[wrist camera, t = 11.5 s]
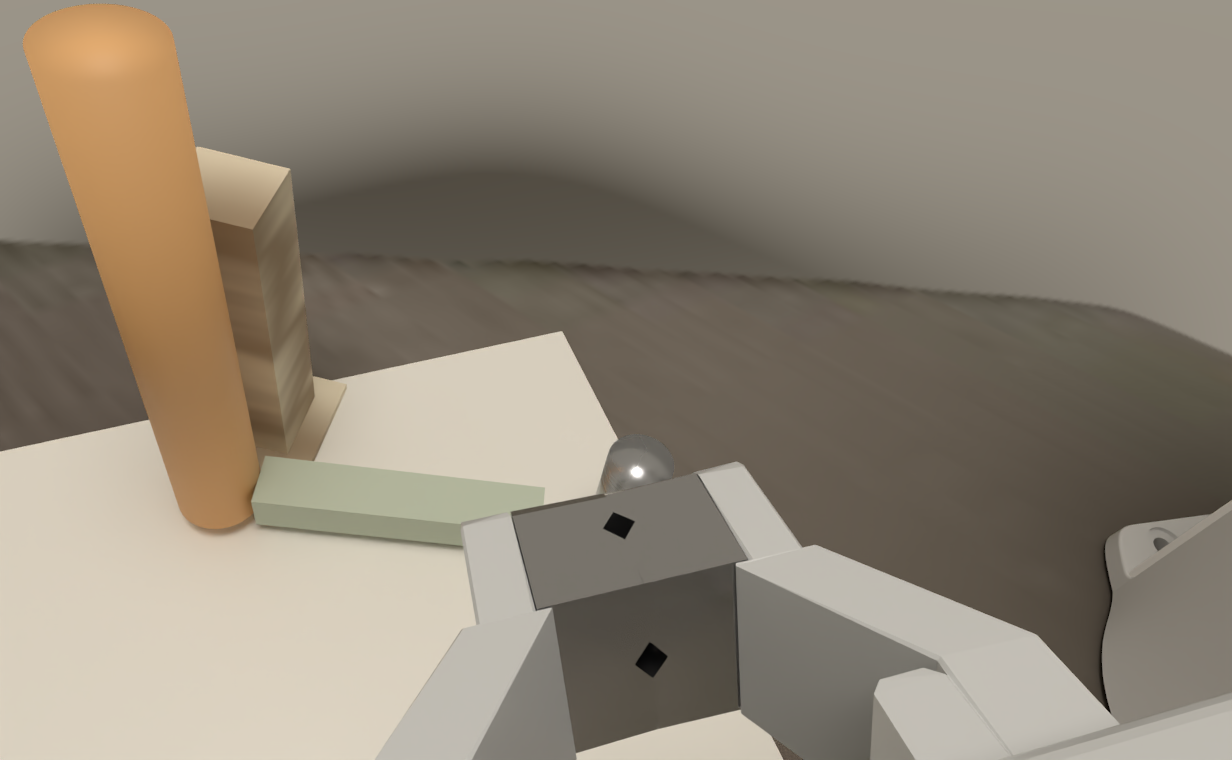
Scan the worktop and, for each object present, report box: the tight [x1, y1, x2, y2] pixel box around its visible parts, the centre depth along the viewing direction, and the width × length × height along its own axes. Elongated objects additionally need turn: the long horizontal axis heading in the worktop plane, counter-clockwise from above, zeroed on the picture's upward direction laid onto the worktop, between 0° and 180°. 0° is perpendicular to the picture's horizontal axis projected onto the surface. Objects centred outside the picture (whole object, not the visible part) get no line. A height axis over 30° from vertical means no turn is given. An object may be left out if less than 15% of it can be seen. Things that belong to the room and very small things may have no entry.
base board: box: [0, 331, 783, 760], centre depth 34 cm, size 24×22×1 cm
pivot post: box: [596, 434, 674, 495], centre depth 36 cm, size 2×2×6 cm
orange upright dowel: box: [23, 4, 545, 546], centre depth 29 cm, size 14×3×19 cm, turn 89°
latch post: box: [196, 147, 347, 471], centre depth 34 cm, size 5×5×13 cm
